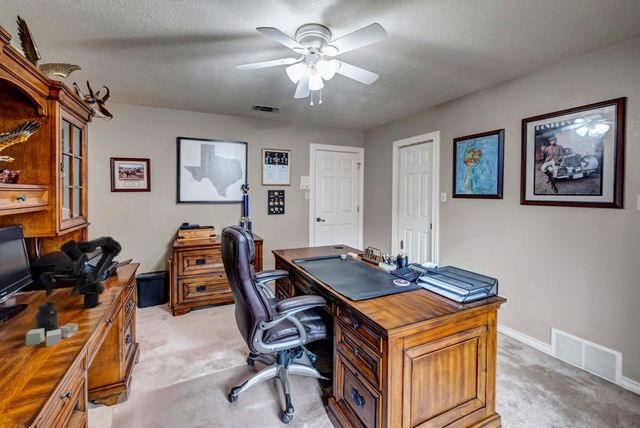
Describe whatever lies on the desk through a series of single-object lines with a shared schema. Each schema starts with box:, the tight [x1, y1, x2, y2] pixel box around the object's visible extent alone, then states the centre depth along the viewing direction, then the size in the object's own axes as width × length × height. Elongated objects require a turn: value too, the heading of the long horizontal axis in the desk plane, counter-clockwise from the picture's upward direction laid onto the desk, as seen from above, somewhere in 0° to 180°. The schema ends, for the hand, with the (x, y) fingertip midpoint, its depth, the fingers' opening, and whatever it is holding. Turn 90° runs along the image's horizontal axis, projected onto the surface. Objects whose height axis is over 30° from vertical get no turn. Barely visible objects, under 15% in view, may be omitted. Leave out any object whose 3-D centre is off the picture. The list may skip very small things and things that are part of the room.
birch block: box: [58, 322, 78, 339], centre depth 119 cm, size 4×4×4 cm
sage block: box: [25, 328, 45, 347], centre depth 112 cm, size 4×4×4 cm
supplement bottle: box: [34, 301, 59, 337], centre depth 120 cm, size 7×7×12 cm
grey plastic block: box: [45, 328, 62, 348], centre depth 113 cm, size 5×4×4 cm
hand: (59, 295), depth 126 cm, fingers open, 9 cm apart
